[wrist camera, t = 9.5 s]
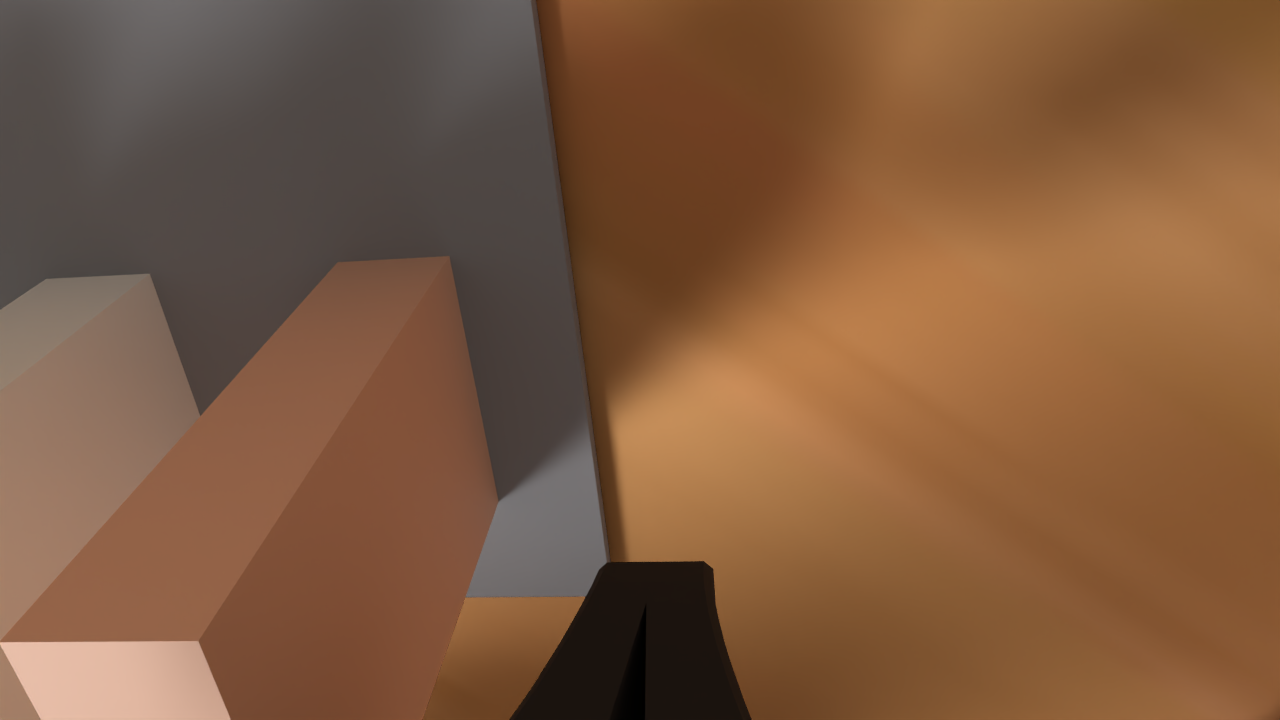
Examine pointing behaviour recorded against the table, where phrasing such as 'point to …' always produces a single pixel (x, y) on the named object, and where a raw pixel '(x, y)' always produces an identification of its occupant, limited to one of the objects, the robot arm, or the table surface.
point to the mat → (318, 204)
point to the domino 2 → (289, 529)
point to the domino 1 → (77, 428)
